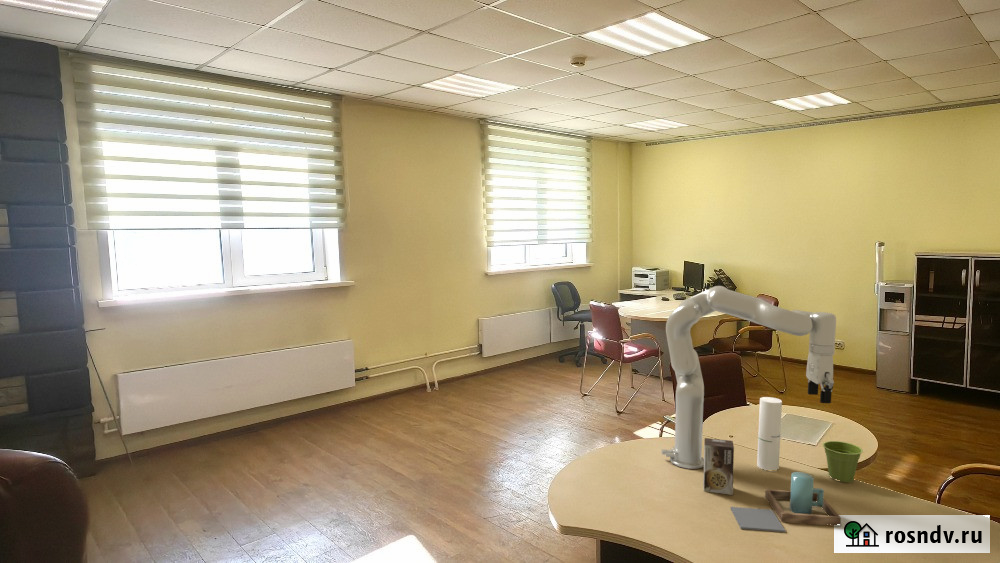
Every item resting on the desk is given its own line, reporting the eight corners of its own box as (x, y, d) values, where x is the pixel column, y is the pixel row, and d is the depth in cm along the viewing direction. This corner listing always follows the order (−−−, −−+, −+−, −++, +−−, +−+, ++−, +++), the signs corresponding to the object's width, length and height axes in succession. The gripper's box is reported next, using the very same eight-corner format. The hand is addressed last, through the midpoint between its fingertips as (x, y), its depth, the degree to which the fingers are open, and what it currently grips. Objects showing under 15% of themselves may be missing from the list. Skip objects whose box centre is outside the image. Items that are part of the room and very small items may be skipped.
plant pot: (826, 468, 202) (828, 438, 201) (864, 478, 194) (866, 447, 193) (816, 478, 194) (818, 447, 193) (855, 489, 186) (857, 456, 185)
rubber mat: (740, 528, 161) (741, 527, 161) (730, 508, 173) (730, 506, 173) (785, 532, 160) (785, 530, 160) (771, 511, 171) (771, 509, 171)
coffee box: (731, 487, 188) (733, 440, 186) (733, 495, 182) (734, 447, 180) (702, 483, 191) (704, 437, 189) (703, 491, 185) (704, 444, 183)
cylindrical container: (782, 471, 200) (785, 403, 198) (762, 471, 200) (765, 403, 198) (773, 463, 207) (776, 397, 205) (753, 463, 207) (756, 396, 205)
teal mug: (793, 514, 169) (795, 479, 168) (786, 505, 175) (788, 471, 174) (825, 517, 168) (827, 481, 167) (817, 507, 174) (819, 473, 173)
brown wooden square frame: (781, 521, 165) (782, 513, 165) (765, 496, 181) (765, 489, 181) (840, 526, 163) (840, 518, 163) (818, 500, 179) (818, 492, 178)
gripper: (799, 343, 198) (797, 391, 200) (821, 354, 181) (818, 406, 183) (821, 344, 197) (819, 391, 199) (845, 355, 180) (843, 406, 182)
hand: (818, 398), depth 191 cm, fingers open, 9 cm apart
